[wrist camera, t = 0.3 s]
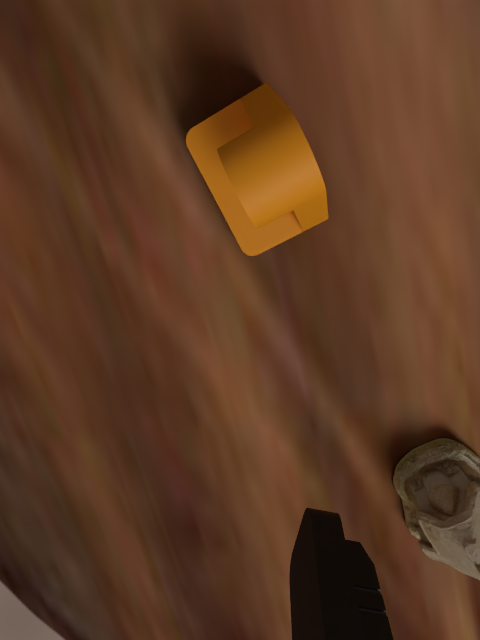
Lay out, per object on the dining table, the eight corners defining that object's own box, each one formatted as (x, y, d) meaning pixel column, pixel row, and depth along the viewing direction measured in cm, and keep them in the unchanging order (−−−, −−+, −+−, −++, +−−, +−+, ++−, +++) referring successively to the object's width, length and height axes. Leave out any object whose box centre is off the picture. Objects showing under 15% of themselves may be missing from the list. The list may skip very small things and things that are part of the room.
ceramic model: (520, 512, 45) (587, 604, 35) (425, 551, 48) (463, 645, 38) (464, 421, 41) (521, 496, 32) (364, 469, 44) (390, 551, 35)
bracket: (187, 136, 33) (146, 123, 22) (267, 88, 32) (266, 47, 20) (248, 253, 36) (239, 293, 25) (324, 214, 35) (350, 239, 24)
